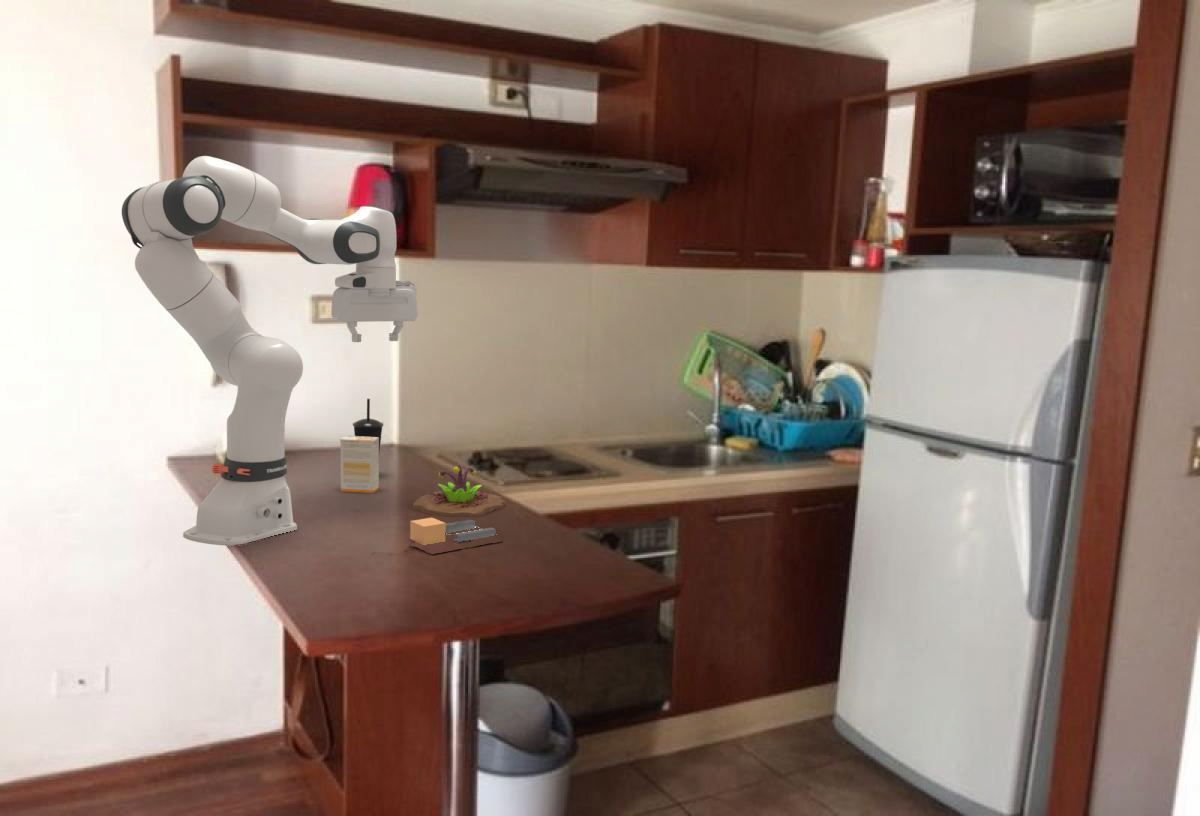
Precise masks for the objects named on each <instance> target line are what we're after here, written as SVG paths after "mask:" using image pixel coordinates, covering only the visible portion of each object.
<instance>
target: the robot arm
mask: <svg viewBox="0 0 1200 816" xmlns="http://www.w3.org/2000/svg"><path fill="white" fill-rule="evenodd" d="M121 218H122V221H123V224H124V226H125V229H126V230H127V232H128V234H129V235H130V237H131V240H132V244H133V245H135V246H136V248H139V250H138V252H137V254H136V257H135V259H134V267H135V271H136V272H137V274H138V276H139V277H140V279H141V281H142V282H143V284H144V285H145V286H146V288H147V289H148V291H150V293H151V294H152V296H154V298H155V299H156V300H157V301H158V303H159V304H160V305H161V306H162V307H163V308H164V309H165V311H167V312H168V314H170V316H172V318H173V319H174V320H175V321H176V322H177V323H178V324H179V325H180V326H181V327H182V328H183V329H184V330H185V331H186V332H187V334H189V336H190V337H191V338H192V339H193V340H194V342H195V343H196V344H197V346H198V347H199V349H200V350H201V352H202V353H203V355H204V357H205V358H206V359H207V361H208V363H210V366H211V368H212V370H213V372H214V373H215V374H217V375H218V377H220V378H221V379H222V380H224V381H225V382H226V383H228V384H230V385H232V386H236V387H237V393H236V399H235V402H234V406H233V409H232V411H231V413H230V414H229V416H228V417H227V421H226V457H225V458H224V460H223V463H222V464H221V463H217V462H215V463H213V464H212V467H211V471H212V473H213V474H219V475H220V477H221V478H220V480H219V481H218V482H217V483H216V484H215V486H214V487H213V489H211V491H209V493H208V494H207V495H206V497H205V498H204V499H203V500H202V501H201V502H200V504H199V505H198V507H197V513H196V525H195V526H193V527H191V528H189V529H186V530H184V531H183V533H182V538H184V539H185V540H188V541H191V542H196V543H200V544H206V545H207V544H208V545H217V546H227V547H228V546H230V547H231V546H233V545H236V544H243V543H247V542H251V541H255V540H258V539H262V538H266V537H270V536H273V537H275V536H274V535H277V536H279V535H278V534H281V535H283V534H282V533H284V534H287V533H286V532H288V533H290V531H291V532H295V531H297V530H298V524H297V523H296V522H294V518H293V517H294V516H293V507H292V506H293V505H292V496H291V489H290V487H289V485H288V483H287V479H286V475H287V474H288V460H287V456H286V455H285V443H286V442H285V435H286V434H285V430H286V428H285V427H286V417H287V413H288V412H287V411H288V407H289V403H290V399H291V395H292V392H293V390H294V388H295V387H296V386H297V384H298V383H299V382H300V380H301V378H302V376H303V372H304V363H303V359H302V357H301V355H300V353H299V352H298V351H297V349H295V348H294V347H292V345H290V344H289V343H287V342H285V341H284V340H282V339H279V338H277V337H276V338H275V337H269V336H265V335H262V334H260V333H258V332H257V331H256V330H254V328H253V327H252V325H250V323H249V322H248V320H247V318H246V317H245V315H244V313H243V311H242V309H241V303H240V302H239V301H238V299H237V298H236V297H235V296H234V294H233V293H231V291H230V290H229V289H228V288H227V286H225V285H224V283H223V282H222V281H221V280H220V278H218V277H217V275H216V274H215V273H214V272H213V271H212V270H211V269H210V267H208V265H207V264H205V263H204V262H203V261H202V259H200V257H199V255H198V254H197V252H196V249H195V248H194V244H193V240H192V238H194V237H200V236H204V235H205V234H207V233H209V232H210V231H212V230H213V229H214V228H215V227H216V226H217V225H218V224H219V223H220V220H221V219H222V220H224V221H226V222H228V223H230V224H233V225H236V226H239V227H242V228H245V229H247V230H253V231H258V232H261V233H262V232H263V234H267V235H268V236H271V237H273V238H275V239H277V240H280V241H281V242H284V243H285V244H287V245H288V246H290V247H292V249H294V251H295V252H297V254H298V255H299V256H300V257H301V258H302V259H303V260H305V261H306V262H308V263H310V264H312V265H326V264H328V265H329V264H330V265H349V266H350V265H355V271H353V272H349V273H346V274H343V275H341V276H337V277H335V278H334V285H335V287H337V288H336V289H335V290H334V291H333V293H332V297H331V298H332V299H331V310H330V312H331V313H330V314H331V317H332V319H333V321H335V322H341V323H346V326H347V329H348V331H349V332H350V334H351V341H352V343H361V342H362V334H361V333H359V332H358V331H357V329H356V328H358V322H359V323H360V322H361V323H362V322H364V323H366V322H369V323H370V322H393V326H394V328H393V330H392V332H389V333H388V336H389V337H388V340H389V342H398V341H399V334H400V332H401V331H402V329H403V327H404V322H415V321H416V320H417V318H418V315H419V314H418V302H417V287H416V284H414V283H413V282H412V281H410V280H397V263H396V259H395V257H396V255H395V254H396V251H397V224H396V219H395V217H394V214H393V212H391V211H390V210H388V209H386V208H383V207H380V206H374V205H361V206H360V207H359V208H358V210H357V211H355V212H354V213H352V214H350V215H348V216H346V217H344V218H341V219H322V218H301V217H300V216H298V215H296V214H293V213H291V212H290V211H288V210H286V209H284V208H282V197H281V193H280V190H279V189H278V186H277V185H275V184H274V183H273V182H271V181H270V180H269V179H268V178H266V177H264V176H263V175H261V174H259V173H257V172H255V171H253V170H251V169H248V168H246V167H244V166H242V165H239V164H236V163H235V162H231V161H227V160H224V159H221V158H218V157H213V156H211V155H210V156H209V155H202V156H197V157H195V158H193V160H191V161H190V162H189V163H188V164H187V166H185V169H184V170H183V173H182V177H178V178H175V179H169V180H160V181H159V180H158V181H156V182H153V183H151V184H149V185H146V186H142V187H139V188H137V189H135V190H134V191H132V192H131V193H130V194H129V195H128V196H127V197H126V198H125V199H124V201H123V203H122V206H121ZM294 530H295V531H294ZM270 538H271V537H270ZM266 539H267V538H266Z"/></svg>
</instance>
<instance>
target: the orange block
mask: <svg viewBox="0 0 1200 816" xmlns="http://www.w3.org/2000/svg"><path fill="white" fill-rule="evenodd" d="M446 524H447V523H446V522H444V521H441V520H439V519H437V518H434V517H426V518H421V519H415V520H410V523H409V527H410V528H409V530H410V532H409V539H410V540H411V541H413V542H414V541H415V542H417V543H420V544H422V545H427V544H434V543H439V542H445V541H446V535H445V533H446Z"/></svg>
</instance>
